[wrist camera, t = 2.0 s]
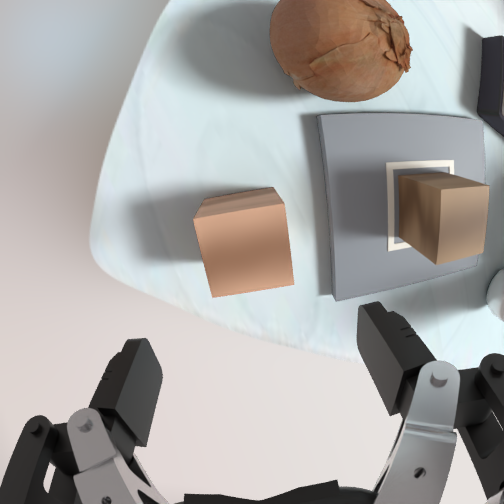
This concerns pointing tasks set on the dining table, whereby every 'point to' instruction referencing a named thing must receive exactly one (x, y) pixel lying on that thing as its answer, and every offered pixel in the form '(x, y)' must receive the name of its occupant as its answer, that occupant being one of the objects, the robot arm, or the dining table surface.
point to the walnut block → (443, 215)
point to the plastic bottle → (496, 295)
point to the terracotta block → (244, 242)
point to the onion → (340, 46)
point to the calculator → (492, 83)
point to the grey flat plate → (387, 192)
